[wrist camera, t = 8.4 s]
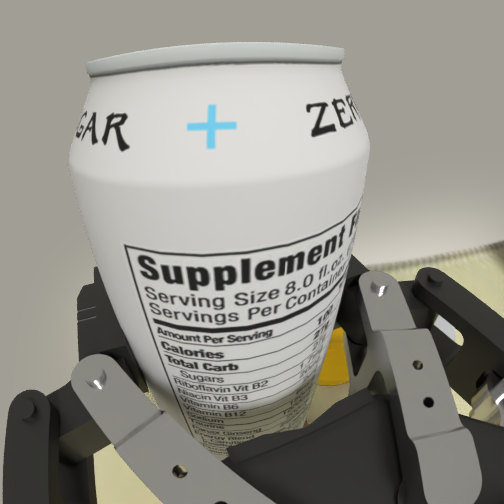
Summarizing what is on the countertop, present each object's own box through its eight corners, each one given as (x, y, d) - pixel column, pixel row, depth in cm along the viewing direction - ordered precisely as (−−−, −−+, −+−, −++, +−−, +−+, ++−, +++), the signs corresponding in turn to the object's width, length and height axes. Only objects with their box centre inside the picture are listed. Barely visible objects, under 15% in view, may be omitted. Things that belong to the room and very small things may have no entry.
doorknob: (342, 309, 33) (382, 367, 27) (271, 330, 31) (305, 398, 25) (356, 252, 28) (410, 313, 22) (275, 271, 26) (320, 347, 20)
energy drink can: (268, 357, 17) (281, 45, 8) (322, 447, 13) (450, 70, 4) (163, 390, 15) (73, 66, 6) (200, 495, 11) (4, 85, 2)
